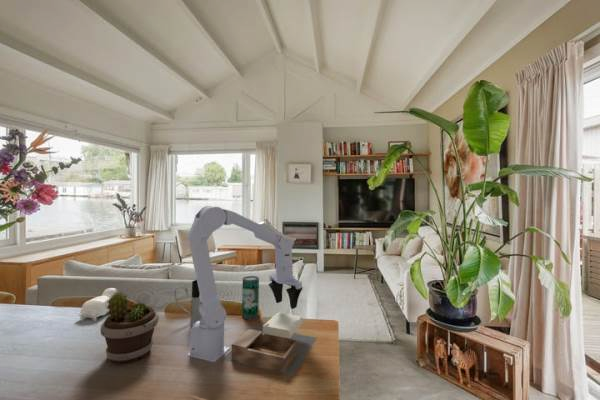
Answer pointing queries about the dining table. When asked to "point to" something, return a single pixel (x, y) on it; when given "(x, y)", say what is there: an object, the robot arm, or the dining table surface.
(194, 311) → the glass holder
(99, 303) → the white figurine
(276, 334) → the lid
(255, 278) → the can
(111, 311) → the flowerpot
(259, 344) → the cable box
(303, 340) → the desk mat
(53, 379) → the dining table surface
